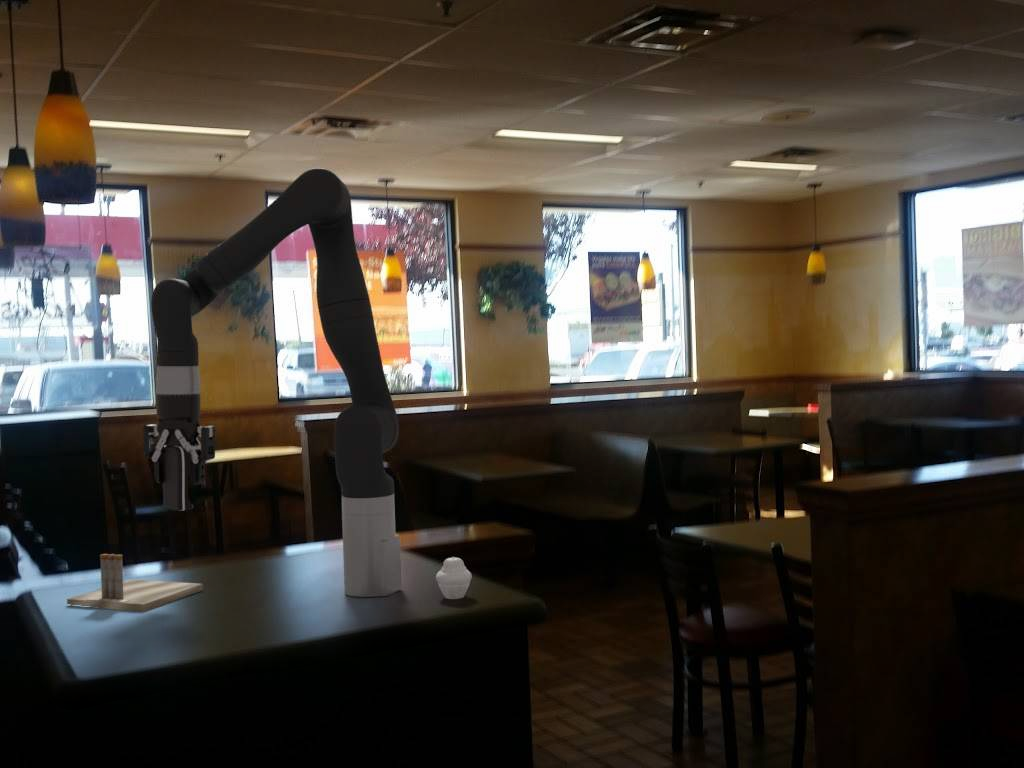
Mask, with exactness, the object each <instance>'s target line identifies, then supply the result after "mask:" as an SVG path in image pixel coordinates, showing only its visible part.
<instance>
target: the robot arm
mask: <svg viewBox="0 0 1024 768" xmlns="http://www.w3.org/2000/svg"><path fill="white" fill-rule="evenodd" d="M353 220H354V219H353V209H352V199H351V195H350V192H349V189H348V187H347V186H346V184H345V183H344V182H343V181H342V180H341V178H340V177H339V176H338V175H337V174H336V173H334V172H333V171H331V170H329V169H327V168H323V167H314V168H310V169H307V170H305V171H304V172H302V173H301V174H300V175H299V176H298V177H296V179H294V181H293V182H292V183H290V185H289V186H288V187H287V188H285V190H284V191H283V192H282V193H281V194H280V195H279V196H278V197H277V198H275V200H274V201H272V202H271V203H270V204H269V205H268V206H267V207H266V208H265V209H263V210H262V211H261V212H260V213H259V214H258V215H257V216H255V217H254V218H253V219H252V220H251V221H249V222H248V223H247V224H245V225H244V226H243V227H242V228H240V229H239V230H237V231H236V232H235V233H233V234H232V235H230V236H229V237H228V238H226V239H225V240H224V241H222V242H221V243H220V244H218V245H216V246H215V247H214V248H212V249H211V250H210V251H208V252H207V253H205V254H204V255H202V257H200V258H199V259H198V261H197V262H196V264H195V267H194V268H192V269H191V270H190V271H189V272H188V273H186V274H185V275H184V276H183V277H181V278H179V279H178V278H166V279H163V280H161V281H160V282H159V283H157V284H156V285H155V286H154V289H153V290H152V294H151V301H150V302H151V303H150V304H151V306H150V307H151V316H152V321H153V326H154V331H155V336H156V341H157V345H156V349H157V350H156V351H157V352H156V353H157V357H156V358H157V360H156V361H157V365H156V366H157V367H156V369H157V370H156V376H155V377H156V379H155V389H156V390H155V393H156V394H155V395H156V398H155V400H156V401H155V403H156V404H155V405H156V406H155V407H156V418H158V423H157V424H156V423H155V424H153V423H150V424H145V425H143V427H142V432H143V433H142V434H143V435H142V436H143V437H142V439H143V444H142V445H143V456H144V459H150V460H151V461H152V462H153V470H154V471H153V472H154V473H153V474H154V476H153V477H154V479H155V482H156V483H157V484H163V473H162V453H163V452H164V447H165V446H182V447H183V448H184V449H185V451H186V452H187V453H190V456H191V459H192V461H193V463H194V464H192V475H191V477H192V478H191V479H192V481H191V483H192V486H193V485H195V486H197V485H198V486H199V485H203V483H204V481H205V479H206V463H207V462H209V461H210V460H211V461H212V460H214V459H215V457H216V427H215V426H214V425H208V426H201V424H200V421H199V420H200V417H201V414H202V413H201V412H202V411H201V375H200V369H199V363H200V362H199V341H198V338H197V336H196V335H195V334H194V332H193V322H192V317H194V316H196V315H197V314H199V313H200V312H202V311H203V310H205V309H206V307H208V306H209V305H210V304H211V303H212V302H213V301H214V300H215V299H216V298H217V297H219V295H220V294H221V293H223V291H225V290H228V289H229V288H230V287H232V286H233V285H234V284H236V283H237V282H238V281H240V280H241V279H243V278H245V277H246V276H247V275H248V274H250V273H251V272H252V271H253V270H255V268H257V267H258V266H259V265H260V264H261V263H262V262H263V261H264V260H265V259H266V258H267V257H268V256H269V255H270V254H271V253H272V251H274V249H275V248H276V247H277V246H278V245H279V244H280V243H282V241H284V240H285V239H287V237H289V236H290V235H292V234H293V233H295V232H296V231H299V230H300V229H301V228H303V227H305V226H307V225H308V227H309V230H310V234H311V237H312V241H313V246H314V250H315V253H316V254H315V255H316V263H317V264H316V301H317V309H318V315H319V320H320V325H321V328H322V332H323V336H324V340H325V342H326V343H327V345H328V347H329V349H330V351H331V353H332V355H333V357H334V358H335V360H336V361H337V363H338V365H339V366H340V369H341V370H342V372H343V374H344V376H345V378H346V381H347V385H348V387H349V388H348V389H349V393H350V399H351V404H352V405H350V406H347V407H346V408H344V409H342V411H340V413H338V415H337V418H336V419H335V422H334V428H333V448H334V449H333V450H334V459H335V474H336V478H337V481H338V483H339V485H340V489H341V490H340V492H341V520H342V522H341V523H342V524H341V525H342V527H341V528H342V553H343V554H342V556H343V584H344V595H347V596H349V597H350V596H351V597H356V598H360V597H361V598H370V597H371V598H373V597H387V596H389V595H392V594H393V593H396V592H397V591H400V590H402V587H403V586H402V585H403V584H402V560H401V558H402V556H401V537H400V535H396V516H395V515H396V513H395V512H396V511H395V509H396V508H395V505H396V503H395V481H394V478H393V477H391V475H389V474H388V473H387V472H386V470H385V467H384V466H385V465H384V456H383V455H384V453H387V452H389V451H390V450H392V448H394V446H395V445H396V443H397V441H398V438H399V435H400V434H399V433H400V423H399V417H398V414H397V412H396V408H395V405H394V401H393V399H392V395H391V392H390V389H389V386H388V383H387V380H386V376H385V371H384V366H383V361H382V356H381V351H380V346H379V341H378V337H377V332H376V327H375V319H374V313H373V309H372V305H371V300H370V295H369V290H368V288H367V287H368V286H367V284H366V283H367V282H366V279H365V276H364V275H365V274H364V271H363V269H362V265H361V261H360V258H359V255H358V252H357V246H356V240H355V231H354V222H353ZM158 436H160V438H159V437H158ZM198 437H200V440H199V438H198ZM158 438H159V440H158Z"/></svg>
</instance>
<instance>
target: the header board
mask: <svg viewBox="0 0 1024 768" xmlns="http://www.w3.org/2000/svg"><path fill="white" fill-rule="evenodd" d="M99 559H100V580H101V581H100V584H101V588H99V589H96V590H92V591H89V592H85V593H82V594H79V595H76V596H73V597H69V598H67V599H66V605H67V604H71V605H81V606H90V607H98V608H97V609H101V608H106V609H105V610H115V609H116V610H118V611H131V612H146V611H148V610H152V609H155V608H157V607H159V606H163V605H165V604H168V603H169V604H170V603H171V602H173V601H177V600H180V599H183V598H185V597H188V596H190V595H193V594H197V593H199V592H202V591H203V590H204V588H203V583H199V582H198V583H193V582H178V581H165V580H164V581H163V580H161V581H160V580H145V579H127V580H125V581H124V579H123V578H124V574H123V571H124V570H123V554H115V553H111V554H110V553H109V554H108V553H102V554H99Z"/></svg>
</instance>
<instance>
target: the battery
mask: <svg viewBox="0 0 1024 768" xmlns="http://www.w3.org/2000/svg"><path fill="white" fill-rule="evenodd" d="M192 464H194V463H193V461H192V459H191V456H190V453H187V452H186V451H185V449H184V448H183V447H182V446H165V447H164V452H163V453H162V473H163V483H162V492H163V493H162V495H163V496H162V497H163V498H162V499H163V500H162V501H163V507H164V508H167V509H170V510H173V511H179V512H180V511H188V510H192V509H194V504H192V503H191V501H190V497H189V481H190V480H191V479H192V478H191V477H192Z"/></svg>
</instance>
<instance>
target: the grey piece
mask: <svg viewBox="0 0 1024 768" xmlns="http://www.w3.org/2000/svg"><path fill="white" fill-rule="evenodd" d="M442 565H443V566H442V567H440V569H439V571H438V572H437V573H436V575H435V579H436V582H437V586H438V587H439V589H440V591H441V593H442V594H443V596H444V598H445V599H447V600H458V599H462V598H464V597H465V596H466V593H467V591H468V589H469V587H470V584H471V580H472V578H473V574H472V573H471V572H470V571H469V569H467V567H466V566H465V563H464V560H462V559H461V558H459V557H455V556H452V557H448V558H446V559H445V560H444V561H443V563H442Z"/></svg>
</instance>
